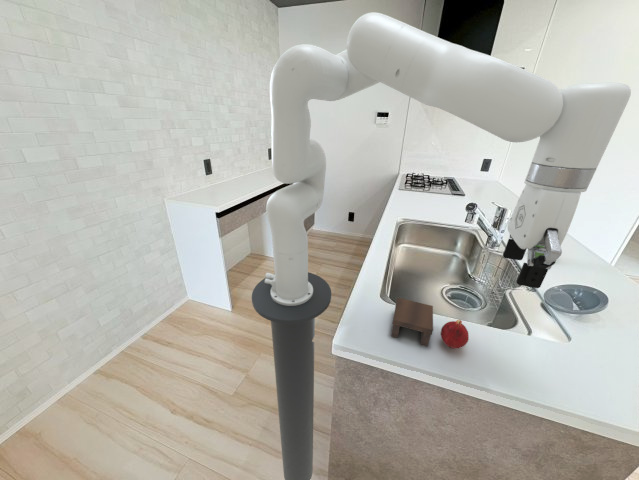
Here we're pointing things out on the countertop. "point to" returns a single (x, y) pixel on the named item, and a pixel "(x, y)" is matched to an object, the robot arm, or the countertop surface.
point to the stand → (413, 318)
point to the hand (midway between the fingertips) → (518, 270)
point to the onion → (454, 334)
